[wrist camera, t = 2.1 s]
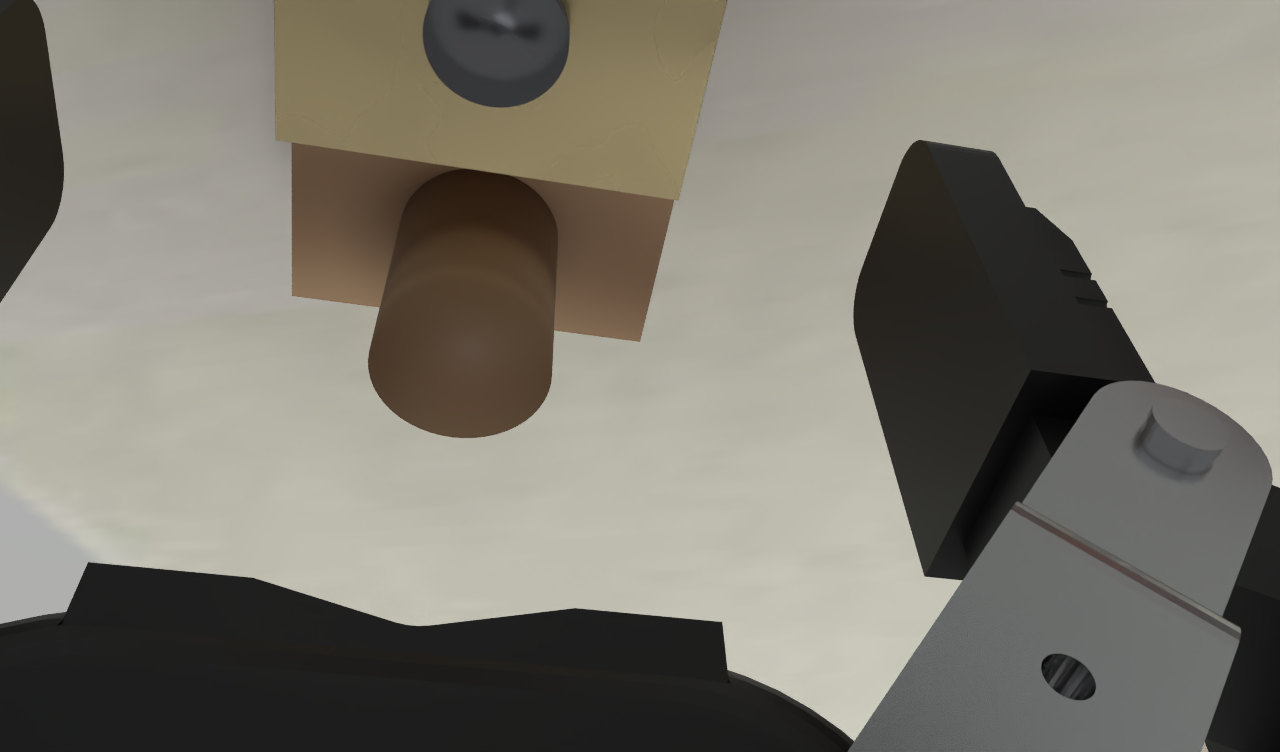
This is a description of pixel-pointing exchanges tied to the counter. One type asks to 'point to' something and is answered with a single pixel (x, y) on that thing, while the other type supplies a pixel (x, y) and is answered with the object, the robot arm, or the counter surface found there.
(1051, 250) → the robot arm
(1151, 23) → the counter surface
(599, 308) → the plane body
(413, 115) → the brushed brass block
